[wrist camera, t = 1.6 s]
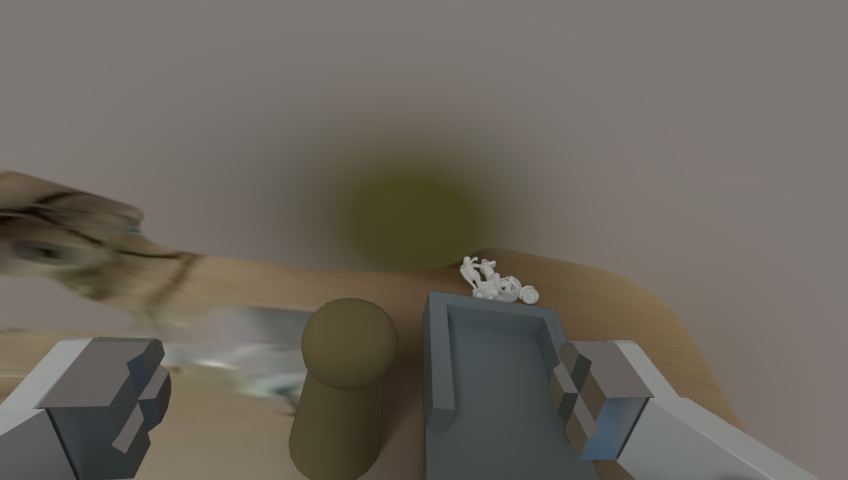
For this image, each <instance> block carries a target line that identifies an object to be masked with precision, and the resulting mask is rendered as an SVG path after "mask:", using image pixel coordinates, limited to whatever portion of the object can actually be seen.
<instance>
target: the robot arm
mask: <svg viewBox="0 0 848 480" xmlns="http://www.w3.org/2000/svg"><path fill="white" fill-rule="evenodd" d="M164 355H165V353H164V349H163V346H162V342H161V341H160V340H157V339H150V338H114V337H98V338H91V337H67V338H65V339H62V340H60V341H59V342H58V343H57V344H56V345H55V346H54V347H53V348H52V349H51V350H50V351H49V352H48V354H47V355H46V356H45V357H44V358H43V359H42V360H41V361H40V362H39V363H38V365H37V366H36V367H35V368H34V369H33V370H32V371H31V372H30V373H29V374H28V376H27V377H26V378H25V379H24V380H23V381H22V382H21V383H20V384H19V385H18V387H17V388H16V389H15V390H14V391H13V392H12V393H11V394H10V395H9V396H8V398H7V399H6V400H5V401H4V402H3V403H2V404H1V405H0V480H117V479H132V478H134V477H135V475H136V473H137V471H138V469H139V466H140V464H141V462H142V460H143V458H144V456H145V454H146V452H147V450H148V448H149V446H150V444H151V443H150V439H149V436H148V432H149V431H150V430H152V429H153V428H154V427H155V426H157V425H158V424H159V423H161V421H162V419H163V417H164V415H165V413H166V411H167V408H168V404H169V399H170V395H171V379H170V374H169V371H167V370H166V369H165V368H164V367H163V366H161V365H160V362H161V360H162V359H163V357H164ZM558 355H559V357H560V358H561V360H562V362H561V363H560V364H559V365H558V366H557V367H555V368H554V369H553V371H552V375H551V378H550V396H551V400H552V404H553V406H554V408H555V410H556V413H557V414H558V415H560V416H561V417H562V418H563V419H564V420H566V421H567V422H568V423H567V426H566V430H565V432H566V434H567V437H568V439H569V441H570V443H571V445H572V447H573V449H574V451H575V454H576V456H577V458H578V460H617V462H618V463H619V464H620V465H621V466H622V467H623V468H624V469H625V470H626V471H627V472H628V473H629V474H630V475H631V476H632V477H633V478H634V479H635V480H820V479H818V478H817V477H815V476H814V475H812V474H810V473H809V472H807V471H805V470H804V469H802V468H801V467H799V466H797V465H796V464H794V463H792V462H791V461H789V460H787V459H786V458H784V457H783V456H781V455H779V454H778V453H776V452H774V451H773V450H771V449H770V448H768V447H766V446H765V445H763V444H761V443H760V442H758V441H757V440H755V439H753V438H752V437H750V436H748V435H747V434H745V433H744V432H742V431H740V430H739V429H737V428H735V427H734V426H732V425H730V424H729V423H727V422H726V421H724V420H722V419H721V418H719V417H717V416H716V415H714V414H713V413H711V412H709V411H708V410H706V409H704V408H703V407H701V406H700V405H698V404H696V403H695V402H693V401H691V400H690V399H688V398H680V397H679V396H678V395H677V393H676V392H675V391H674V389H673V388H672V387H671V386H670V384H669V383H668V382H667V381H666V379H665V378H664V377H663V376H662V374H661V373H660V372H659V371H658V369H657V368H656V367H655V366H654V364H653V363H652V362H651V361H650V359H649V358H648V357H647V356H646V354H645V353H644V352H643V351H642V349H641V348H640V347H639V345H638V344H636V343H635V342H633V341H632V340H609V341H565V343H564V344H563V345H562V346H561V349H560V351H559V354H558Z"/></svg>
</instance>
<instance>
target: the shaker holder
mask: <svg viewBox="0 0 848 480" xmlns="http://www.w3.org/2000/svg"><path fill="white" fill-rule="evenodd" d="M565 341H568V340H567V337H566V334H565V332H564V329H563V327H562V324H561V322H560V319H559V317H558V314H557V311H556V309H553V308H546V307H539V306H533V305H526V304H519V303H512V302H505V301H498V300H491V299H485V298H478V297H471V296H464V295H457V294H450V293H443V292H437V291H430V290H429V293H428V297H427V301H426V304H425V308H424V312H423V373H424V449H425V480H599V477H598V474H597V471H596V468H595V466H594V463H593V460H578V458H577V456H576V454H575V451H574V449H573V447H572V445H571V443H570V441H569V439H568V437H567V434H566V432H565V430H566V426H567V423H568V422H567V421H566V420H564V419H563V418H562V417H561V416H560V415H558V414H557V413H556V410H555V408H554V406H553V404H552V400H551V396H550V378H551V375H552V371H553V369H554V368H555V367H557V366H558V365H559V364H560V363H561V362H562V360H561V358H560V357H559V355H558V354H559V351H560V349H561V346H562V345H563V344H564V343H565Z"/></svg>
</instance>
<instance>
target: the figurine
mask: <svg viewBox="0 0 848 480" xmlns="http://www.w3.org/2000/svg"><path fill="white" fill-rule="evenodd" d="M474 260H476V261H477V260H478V257H475V258H473V259H472V260H471V259H470V257H468V256H467V257H465V258H464V263H463V265H461V267H460V268H461V269H460V272H461V274H462V276H463V277H464V279H465V280H466V281H468V282H469V283H470V284H471V285H472V286H473V288H474V289H473V291H472V292H473V297H478V298H485V299H491V300H498V301H505V302H514V301H516V300H517V298H518V297H519V299H520V300H522V299H523V301H524V302H525V303H527V304H534V303H536V302H537V301H538V299H539V294H538V292H537V291H536V290H534V289H535V287H533V286H530V285H528V286H525V287H522V286H521V284H520V282H519V281H518V280H517V279H516V278H514V277H513V276H510V277H509V278H508V276H507V278H500V275H499V274H498V273H494V270H493V269H492V268H493V267H496V262H495V261H492V262H491V261H490V262H488V260H486V259H482V263H481V265H479V264H474V263H472V262H473V261H474ZM471 263H472V264H471ZM492 264H493V265H492ZM474 267H477V268H480V271H481V272H482V274H484V276H485V277H486V281H485V282H481V279H480V275H479V272H477V271H476V270H474ZM505 279H508V280H509V281H507V280H505ZM473 280H475V281H476V283H477V284H476V285H477V286H478V288H476V285H474V284H473V283H472V281H473ZM503 287H505V290H503V289H501V288H503ZM511 289H512V290H511Z"/></svg>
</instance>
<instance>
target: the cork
mask: <svg viewBox="0 0 848 480" xmlns="http://www.w3.org/2000/svg"><path fill="white" fill-rule="evenodd" d="M301 349H302V354H303V359H304V362H305V365H306V367H307V369H308V372H307V376H306V379H305V383H304V386H303V390H302V393H301V397H300V401H299V404H298V408H297V411H296V415H295V418H294V422H293V425H292V429H291V434H290V439H289V449H290V456H291V458H292V460H293V462H294V464H295V466H296V467H297V469H298V470H299V471H300V472H301V473H303V474H304V475H305V476H306V477H307V478H308V479H311V480H355V479H357V478H358V477H360V476H361V475H363V474H364V473H366V472H367V471H368V470H369V468H370V467H371V466H372V465H373V463H374V462H375V461H376V459H377V456H378V453H379V450H380V448H381V411H382V378H383V377H384V376H385V374H386V373H387V372H388V371H389V369H390V368H391V366H392V364H393V361H394V359H395V356H396V353H397V349H398V346H397V331H396V328H395V326H394V324H393V322H392V320H391V318H390V317H389V315H388V314H387V313H386V312H385V311H384V310H383V309H382V308H380V307H379V306H377V305H375V304H374V303H372V302H368V301H365V300H362V299H354V298H345V299H337V300H334V301H332V302H329V303H327V304H325V305H324V306H322V307H321V308H319V309H318V310H317V311H316V312H315V313H314V314H313V315H312V316H311V318H310V319H309V321H308V322H307V324H306V326H305V328H304V332H303V337H302V343H301Z"/></svg>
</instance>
